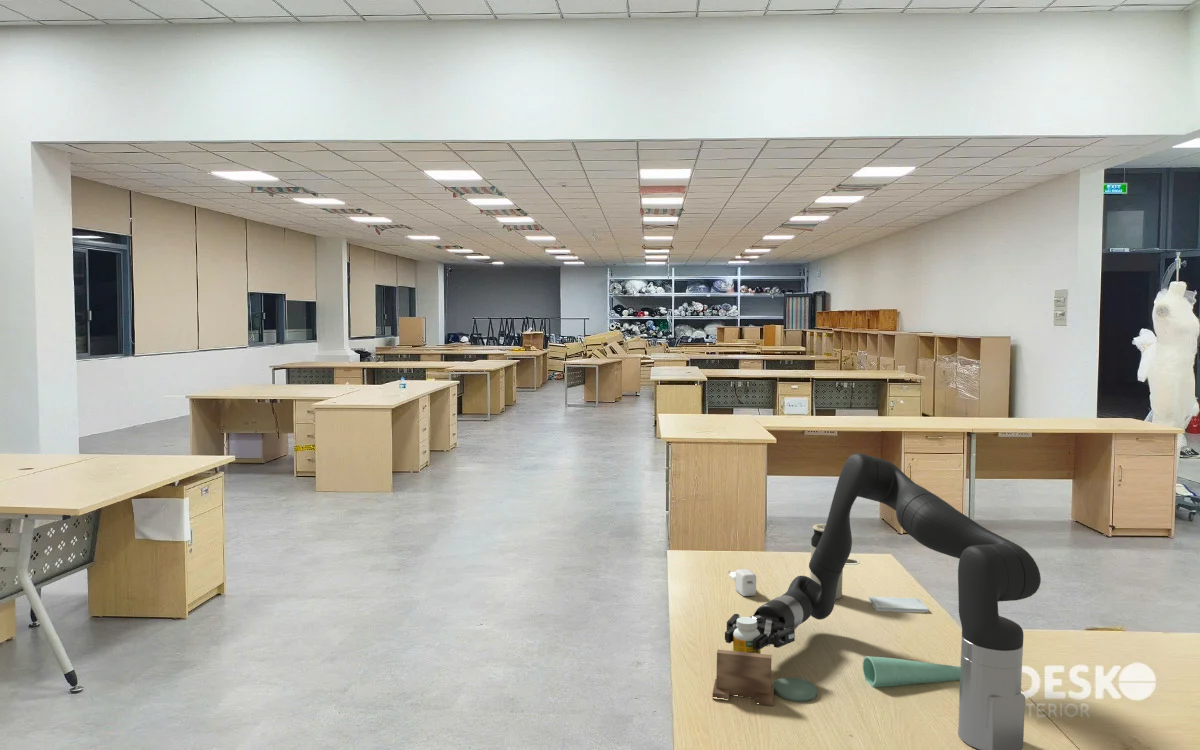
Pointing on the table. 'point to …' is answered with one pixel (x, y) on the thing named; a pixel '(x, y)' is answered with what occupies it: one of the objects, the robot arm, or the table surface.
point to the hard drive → (898, 604)
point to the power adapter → (744, 581)
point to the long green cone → (906, 672)
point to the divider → (744, 676)
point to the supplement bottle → (745, 635)
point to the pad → (795, 689)
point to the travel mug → (814, 542)
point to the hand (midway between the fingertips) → (740, 641)
